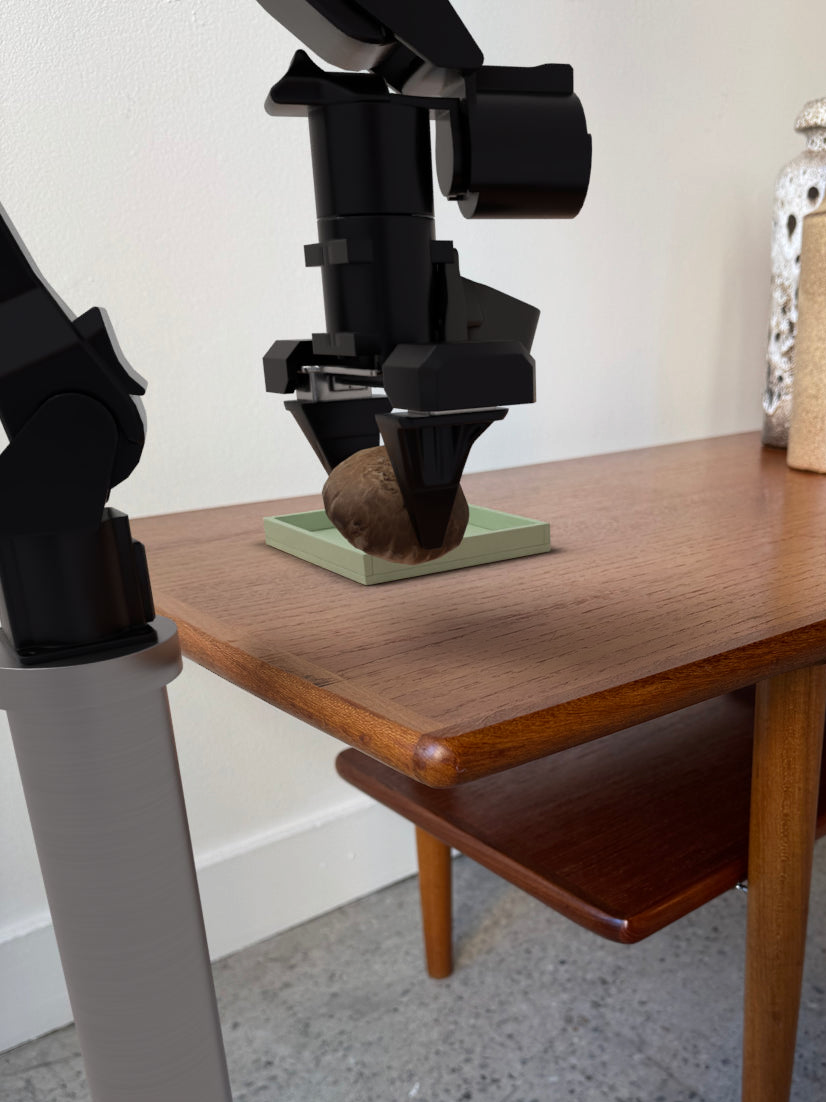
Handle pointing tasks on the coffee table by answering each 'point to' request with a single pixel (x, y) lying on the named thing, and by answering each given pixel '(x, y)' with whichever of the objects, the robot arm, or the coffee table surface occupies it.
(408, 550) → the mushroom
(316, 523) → the tray
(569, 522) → the coffee table surface
